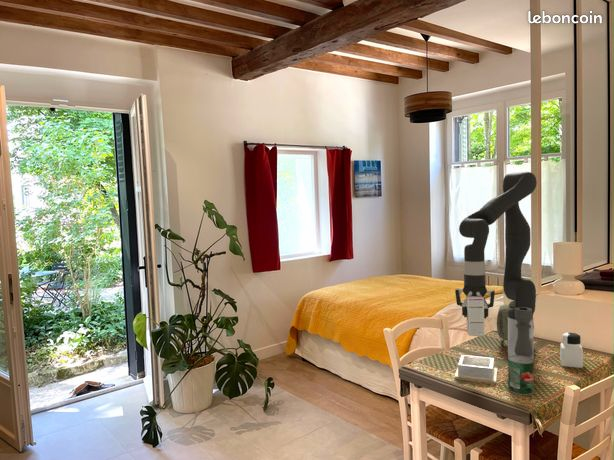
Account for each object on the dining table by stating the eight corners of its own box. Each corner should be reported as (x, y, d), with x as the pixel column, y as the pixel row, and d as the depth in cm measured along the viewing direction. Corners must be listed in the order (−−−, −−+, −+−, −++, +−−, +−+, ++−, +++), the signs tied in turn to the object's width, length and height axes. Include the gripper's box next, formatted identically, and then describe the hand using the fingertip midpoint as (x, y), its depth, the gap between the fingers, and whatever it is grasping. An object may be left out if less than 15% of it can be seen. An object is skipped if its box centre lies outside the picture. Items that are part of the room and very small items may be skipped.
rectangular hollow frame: (497, 370, 175) (497, 357, 175) (495, 384, 163) (495, 370, 162) (459, 365, 181) (458, 353, 181) (454, 378, 169) (454, 365, 168)
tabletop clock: (533, 346, 202) (533, 289, 201) (533, 352, 194) (533, 293, 192) (497, 342, 208) (497, 288, 207) (496, 348, 200) (496, 291, 199)
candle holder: (532, 380, 165) (531, 311, 163) (513, 377, 168) (512, 309, 166) (534, 374, 170) (533, 307, 168) (515, 371, 173) (515, 306, 172)
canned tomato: (509, 384, 162) (509, 353, 161) (534, 388, 158) (534, 356, 157) (506, 392, 155) (506, 360, 155) (532, 397, 151) (532, 364, 151)
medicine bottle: (581, 362, 181) (581, 332, 180) (583, 368, 174) (583, 337, 174) (560, 360, 184) (560, 330, 183) (561, 366, 177) (561, 335, 177)
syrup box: (485, 336, 168) (484, 297, 167) (468, 335, 169) (467, 296, 168) (482, 331, 174) (482, 293, 173) (466, 331, 175) (465, 293, 174)
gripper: (496, 271, 170) (496, 316, 171) (455, 270, 177) (456, 313, 178) (494, 275, 164) (495, 321, 165) (452, 273, 170) (453, 318, 171)
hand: (475, 317), depth 171 cm, fingers closed on syrup box, 6 cm apart
